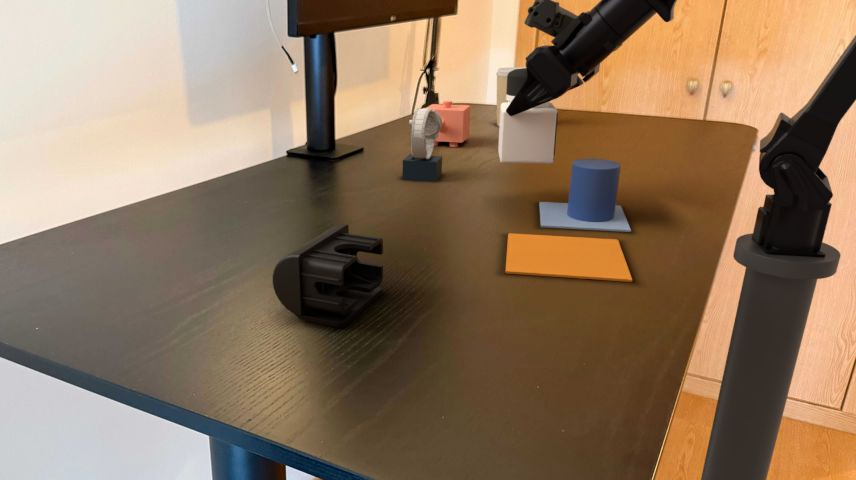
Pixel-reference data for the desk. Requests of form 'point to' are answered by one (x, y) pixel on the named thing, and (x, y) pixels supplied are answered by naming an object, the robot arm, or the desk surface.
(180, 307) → the desk surface
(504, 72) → the coffee cup
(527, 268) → the amber mat
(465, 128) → the pink cube teapot
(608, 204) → the blue cylinder
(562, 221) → the blue mat
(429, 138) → the watch
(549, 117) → the medicine bottle
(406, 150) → the desk surface
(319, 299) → the end cap
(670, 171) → the desk surface
